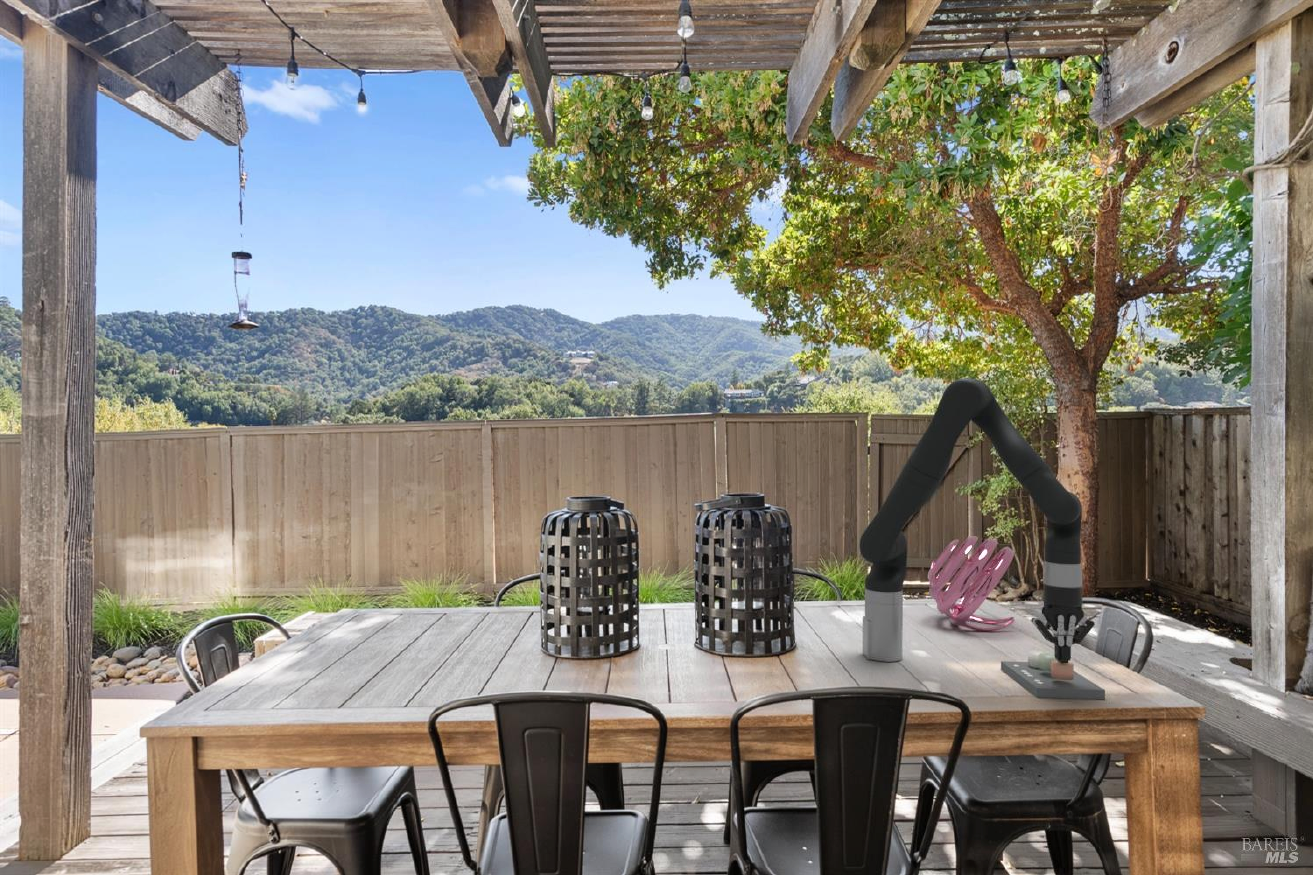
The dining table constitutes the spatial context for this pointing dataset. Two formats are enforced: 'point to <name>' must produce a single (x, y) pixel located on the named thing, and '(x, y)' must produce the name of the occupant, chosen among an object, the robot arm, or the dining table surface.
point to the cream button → (1034, 658)
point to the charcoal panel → (1051, 683)
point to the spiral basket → (968, 581)
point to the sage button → (1046, 661)
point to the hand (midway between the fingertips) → (1062, 662)
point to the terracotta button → (1062, 670)
